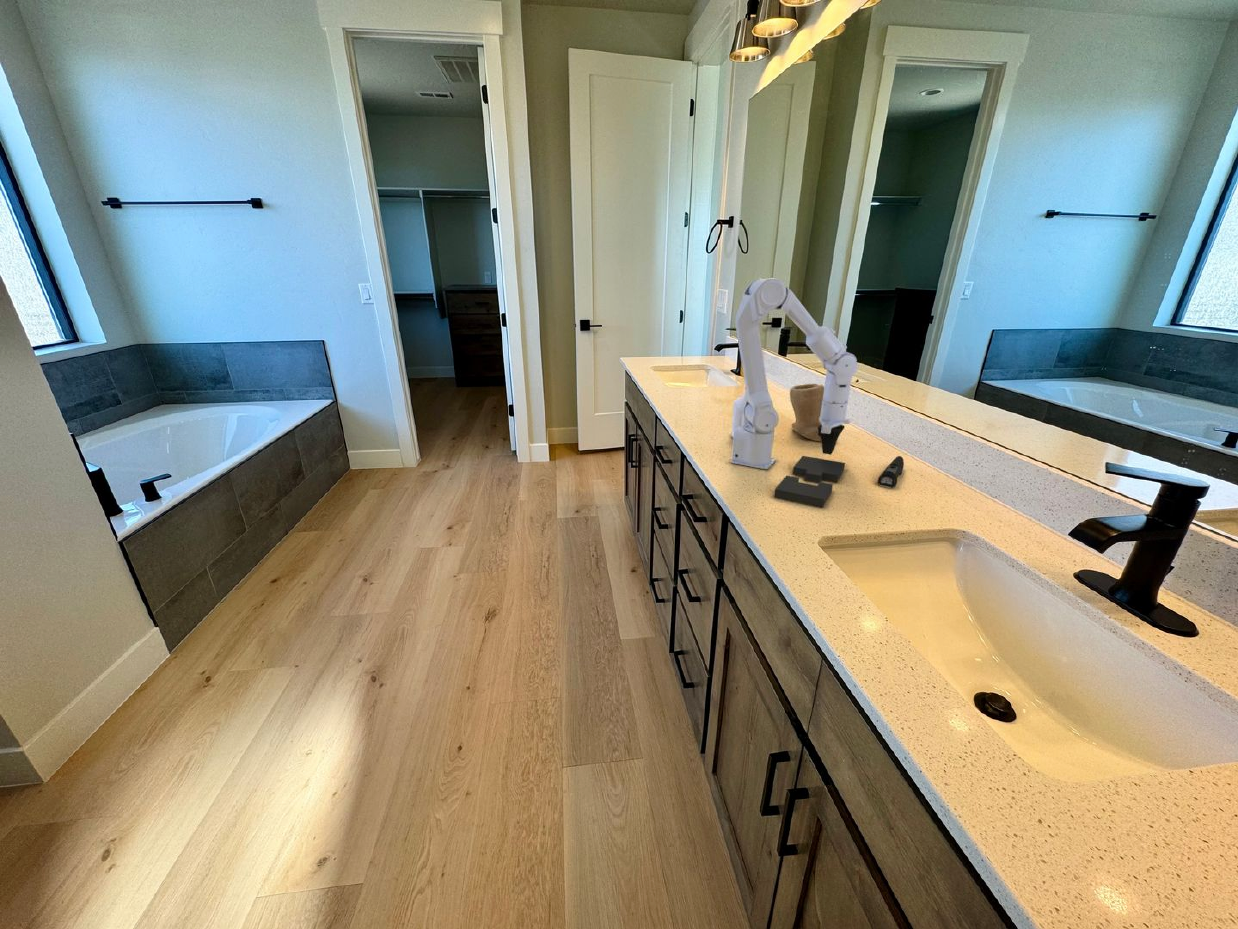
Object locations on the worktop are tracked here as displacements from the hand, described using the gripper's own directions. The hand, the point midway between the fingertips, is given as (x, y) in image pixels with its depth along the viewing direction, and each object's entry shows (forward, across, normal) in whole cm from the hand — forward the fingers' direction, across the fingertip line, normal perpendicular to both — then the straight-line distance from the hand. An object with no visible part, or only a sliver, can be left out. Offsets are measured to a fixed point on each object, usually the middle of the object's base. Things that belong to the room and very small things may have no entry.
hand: (827, 453), depth 125 cm
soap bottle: (+2, +9, +24) cm, 26 cm away
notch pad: (+2, -24, 0) cm, 24 cm away
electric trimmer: (+2, -3, -15) cm, 15 cm away
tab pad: (+2, -10, 0) cm, 10 cm away
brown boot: (+2, +20, +9) cm, 22 cm away
